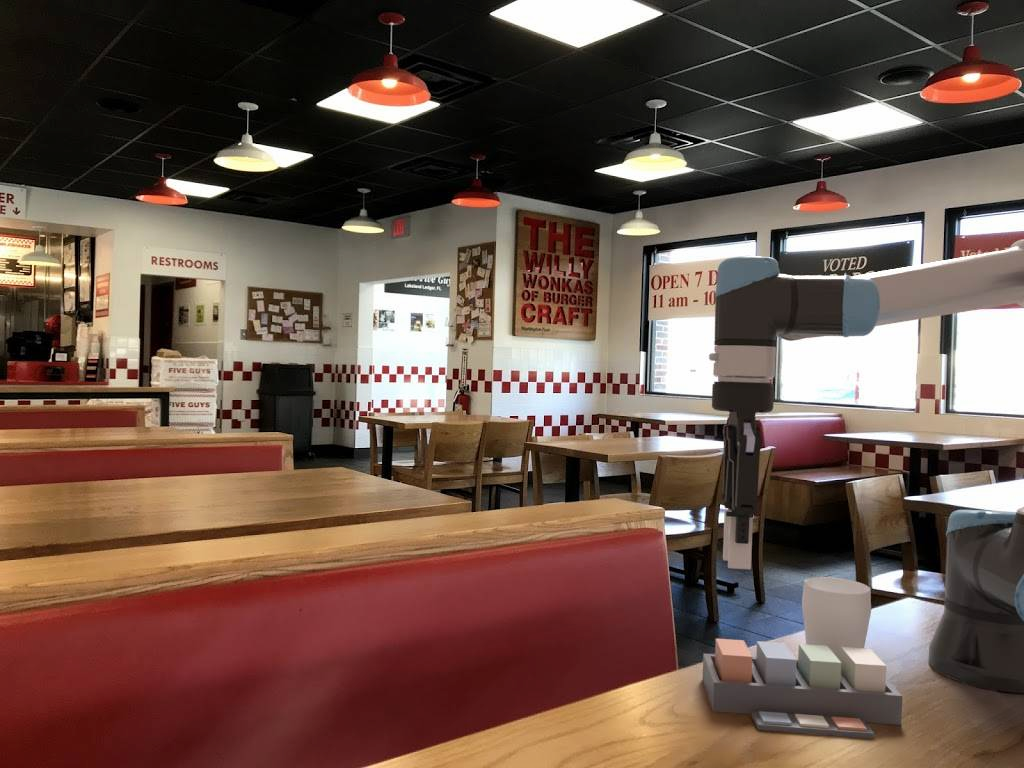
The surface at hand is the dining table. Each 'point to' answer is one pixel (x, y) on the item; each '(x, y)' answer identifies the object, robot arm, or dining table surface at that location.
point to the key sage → (819, 666)
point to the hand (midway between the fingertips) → (736, 563)
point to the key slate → (776, 663)
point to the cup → (836, 613)
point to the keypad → (800, 697)
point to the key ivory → (863, 669)
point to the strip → (812, 724)
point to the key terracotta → (733, 660)
